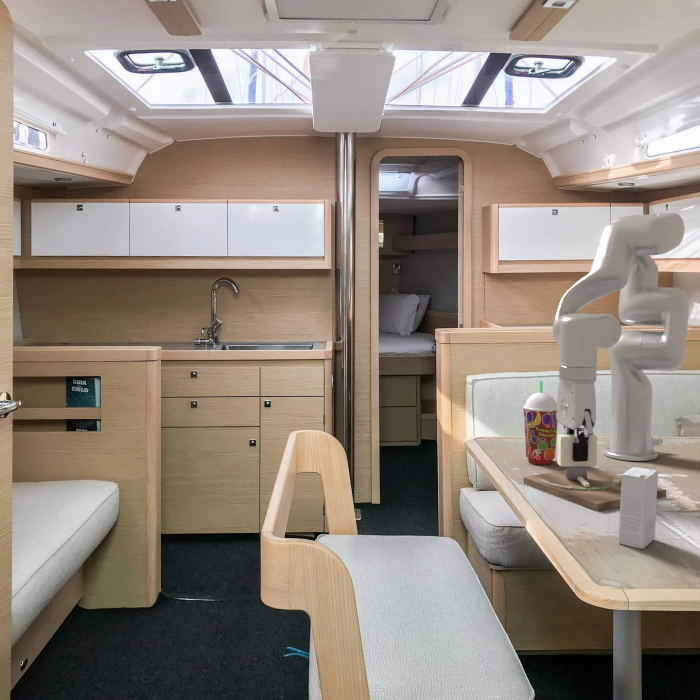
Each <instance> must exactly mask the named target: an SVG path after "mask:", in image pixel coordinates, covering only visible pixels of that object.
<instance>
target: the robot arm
mask: <svg viewBox="0 0 700 700" xmlns="http://www.w3.org/2000/svg"><path fill="white" fill-rule="evenodd" d="M685 230H686V229H685V223H684V220H683V218H682V217H681V216H680V215H679V214H678V213H676V212H663V213H662V212H661V213H659V212H658V213H650V214H633V215H625V216H620V217H617V218H614V219H613V220H612V221H611V222H609V223H608V224H607V225H606V226H605V227H604V228H603V230H602V232H601V235H600V238H599V242H598V244H597V248H596V249H595V250H596V251H595V253H594V257H593V260H592V264H591V267H590V271H589V272H588V273H587V274H586V275H584V276H583V277H582V278H580V279H578V281H576V282H575V283H574V284H573V285H572V286H571V287H570V288H569V289H567V291H566V292H565V293H564V294H563V296H562V297H561V299H560V301H559V304H558V307H557V310H556V313H555V316H554V319H553V324H552V337H553V339H554V341H555V342H556V343H557V344H558V345H559V353H558V354H559V357H558V358H559V359H558V361H559V365H558V367H559V368H558V370H559V372H558V381H559V382H558V387H557V389H558V390H557V397H556V399H557V400H556V404H557V412H556V419H557V421H558V424H559V425H560V424H561V425H562V426H563V430H564V433H563V434H574V440H575V443H573V456H572V460H573V461H574V462H580V461H588V443H589V438H590V436H592V435H593V434H594V428H595V427H596V420H597V401H596V400H597V398H596V397H597V396H596V386H595V383H596V382H597V365H598V364H597V360H598V359H597V357H598V350H597V349H607V351H608V359H609V365H610V372H611V373H610V375H611V377H610V379H611V385H610V387H611V388H610V389H611V393H610V395H611V397H610V432H609V433H610V438H609V439H610V441H609V443H610V444H609V445H608V446H606V447H603V454H604V455H605V456H607V457H609V458H612V459H616V460H621V461H622V460H623V461H628V462H629V461H633V462H644V461H645V462H646V461H652V460H655V459H657V458H658V452H657V451H656V450H654V447H655V446H656V447H657V446H661V445H663V444H664V441H663V438H662V437H660V436H659V437H653V436H652V417H653V415H652V413H653V386H652V383H651V381H650V380H649V378H648V376H647V375H646V374H645V372H644V371H661V372H675V371H677V370H679V369H680V368H682V366H683V364H684V362H685V358H686V349H687V340H688V339H687V335H688V326H689V325H688V324H689V316H690V315H689V314H690V313H689V312H690V311H689V310H690V305H689V299H688V296H687V294H686V291H684V290H683V289H681V288H677V287H671V286H670V287H658V284H659V283H658V281H659V267H658V264H657V263H656V262H655V259H653V257H651V256H659V255H664V254H667V253H669V252H671V251H673V250H674V249H676V248H678V247H679V246H680V244H681V243H682V241H683V238H684V236H685ZM618 291H619V299H618V318H619V319H618V318H617V317H616V316H614V315H612V314H607V313H589V312H588V313H587V312H586V313H584V312H583V313H582V312H581V313H579V311H581V309H582V308H583V307H585V306H586V305H588V304H589V303H591V302H593V301H597V300H599V299H602V298H604V297H607V296H608V295H611V294H613V293H615V292H618ZM619 320H620V321H621V322H620V321H619ZM621 323H623V324H624V325H627V326H628V325H629V326H638V327H639V326H641V327H663V328H664V331H654V330H653V331H650V330H649V331H648V330H622V324H621ZM579 434H580V435H579Z"/></svg>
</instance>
